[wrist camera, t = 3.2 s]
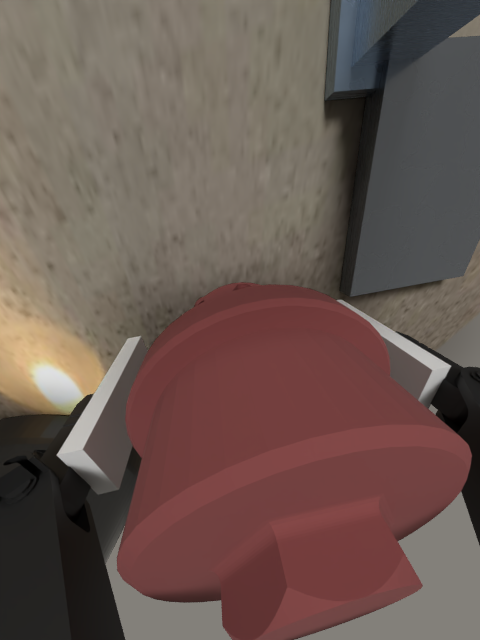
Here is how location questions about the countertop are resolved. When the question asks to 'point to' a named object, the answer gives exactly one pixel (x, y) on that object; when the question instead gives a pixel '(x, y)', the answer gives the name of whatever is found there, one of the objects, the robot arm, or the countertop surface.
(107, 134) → the countertop surface
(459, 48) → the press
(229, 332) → the mechanical component
